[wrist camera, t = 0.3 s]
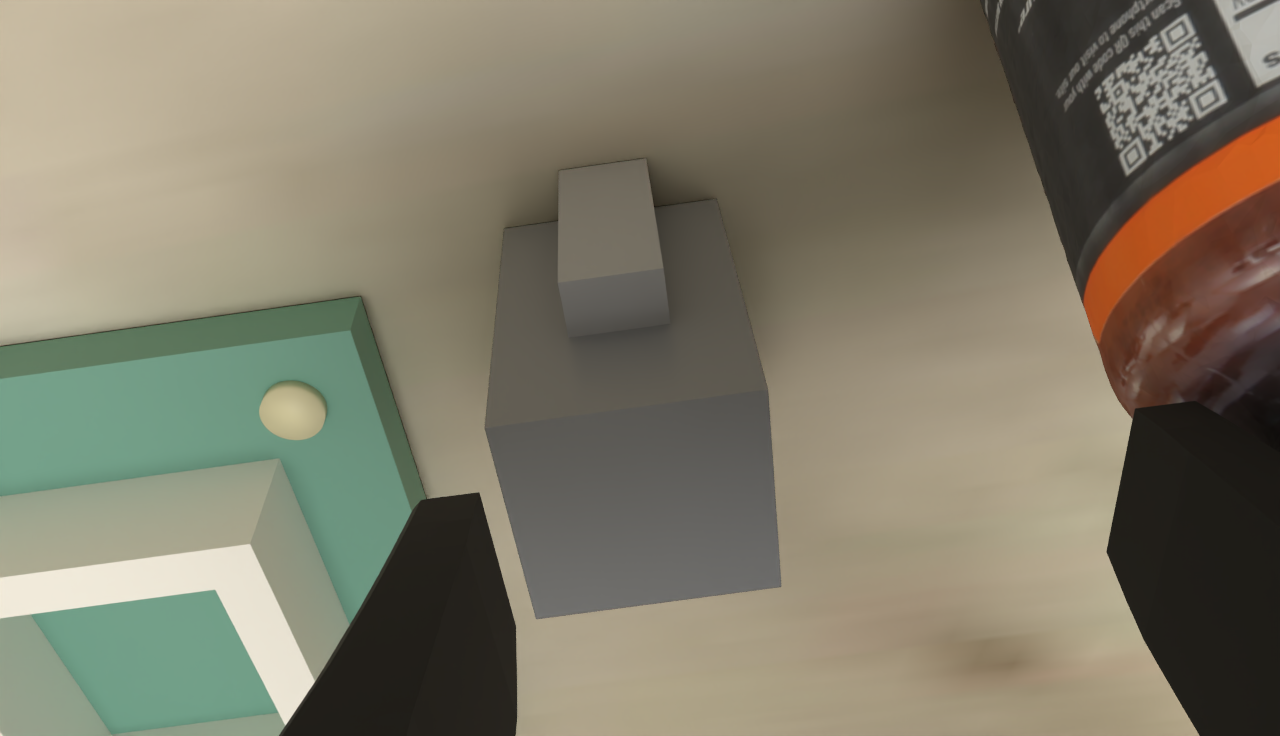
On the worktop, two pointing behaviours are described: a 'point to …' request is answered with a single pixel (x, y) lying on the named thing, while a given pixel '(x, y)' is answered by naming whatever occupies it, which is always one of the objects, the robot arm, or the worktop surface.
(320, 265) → the worktop surface
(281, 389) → the board
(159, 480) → the frame
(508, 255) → the plug
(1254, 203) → the supplement bottle
